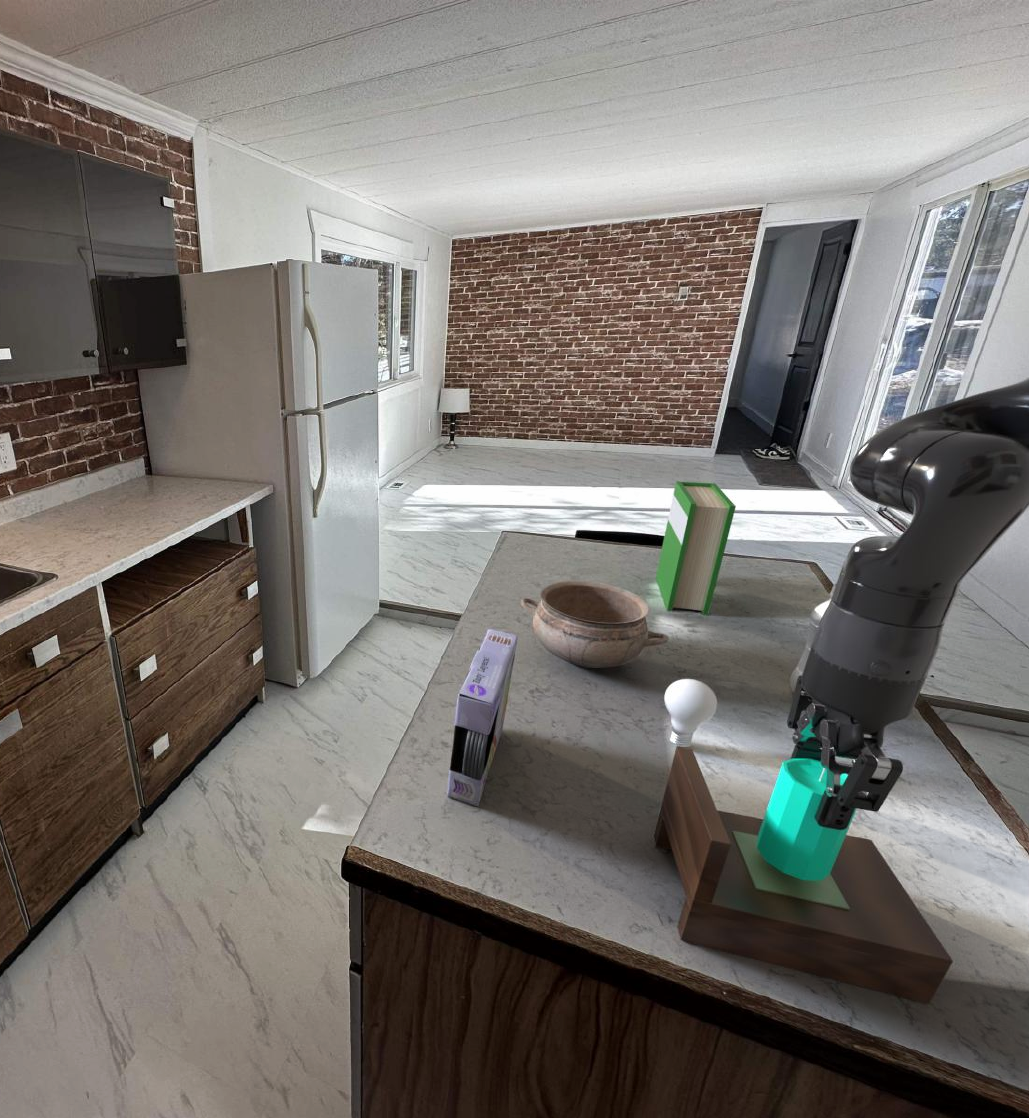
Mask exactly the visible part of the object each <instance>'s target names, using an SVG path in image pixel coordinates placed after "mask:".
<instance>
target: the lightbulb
mask: <svg viewBox="0 0 1029 1118" xmlns="http://www.w3.org/2000/svg"><path fill="white" fill-rule="evenodd" d="M663 700H664V705H665V708H666V710H667V711H668V713H669V715H670V720H671V721H670V723H671V730H670V731H671V732H670V734H669V739H668V740H669V741H670V743H672V744H674V745H676V747H683V748H688V747H690V746H691V744H692V740H693V736H694V734H695V732H697V730H698V728H699V727H700V726H701V725H703V724H705V723H706V722H708V721H709V720H711V719H713V717H714V716H715V714H716V712H717V709H718V699H717V696H716V693H715V692H714V691H713V689H712V688H711V687H710V686H708V685H707V684H706V683H704V682H703V681H700V680H698V679H694V678H693V679H692V678H681V679H677V680H675V681H673V682H672V683H671V684H670V685H668V687H667V688H666V690H665V692H664V697H663Z"/></svg>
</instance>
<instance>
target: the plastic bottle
mask: <svg viewBox="0 0 1029 1118" xmlns="http://www.w3.org/2000/svg"><path fill="white" fill-rule="evenodd" d="M836 584H837V583H834V584H833V586H832V589H831V591H830V592H829V594H828V596H829V597H830V598H828V599H826V600H825V601H823V602H821V603H819V604H818V605H816V606H815V607H814V608H813V609H812V611H811V612H810V616H809V625H808V626H809V627H808V635H807V639H806V644H805V647H804V651H803V653H802V655H801V657H800V658H799V659H800V660H799V661H798V663H797V665H796V667H795V668H794V670H793V671H792V673H791V675H790V681H789V687H790V688H791V691H792V692H793V693H794V691H795V687H796V683H797V679H798V676H800V675H802V674H803V671H804V668H805V665H806V662H807V659H808V656H809V653H810V650H811V647H812V644H813V641H814V638H815V635H816V632H817V629H818V626H819V623H820V620H821V618H822V616H823V614H824V612H825V610H826V609H827V607H828V605H829V603H830V601H831V599H832V596H833V593H834V590H835V587H836Z"/></svg>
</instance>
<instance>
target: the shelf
mask: <svg viewBox="0 0 1029 1118" xmlns="http://www.w3.org/2000/svg"><path fill="white" fill-rule="evenodd" d="M763 819H764V818H759V817H755V816H749V815H745V814H740V813H734V812H729V811H723V810H718V809H717V807H716V804H715V801H714V799H713V797H712V794H711V792H710V789H709V787H708V784H707V783H706V780H705V776H704V774H703V772H702V770H701V767H700V765H699V762H698V760H697V757H696V754H695V752H694V750H693V749H692V748H688V747H680V746H676V747H675V751H674V754H673V759H672V763H671V766H670V770H669V775H668V778H667V782H666V786H665V790H664V794H663V798H662V802H661V806H660V810H659V813H658V817H657V820H656V823H655V824H656V825H655V829H654V831H653V832H654V833H653V836H652V837H653V841H654V844H655V847H657V848H662V849H666V850H671V851H672V853H673V857H674V861H675V864H676V868H677V871H678V874H679V877H680V881H681V885H682V887H683V891H684V895H685V899H684V903H683V907H682V910H681V913H680V917H679V920H678V923H677V926H676V927H677V930H678V931H677V932H678V935H679V938H680V940H681V941H683V942H687V943H691V944H695V945H699V946H703V947H705V948H710V949H713V950H714V949H715V950H718V951H721V952H726V953H730V954H733V955H737V956H741V957H745V958H748V959H752V960H757V961H761V962H765V963H768V964H772V965H777V966H780V967H784V968H788V969H791V970H795V971H800V972H803V973H807V974H811V975H815V976H819V977H823V978H826V979H830V980H834V981H838V982H842V983H846V984H849V985H853V986H857V987H862V988H865V989H868V990H873V991H877V992H881V993H884V994H888V995H892V996H897V997H900V998H903V999H909V1000H912V1001H916V1002H920V1003H924V1004H928V1005H929V1004H930V1003H931V1001H932V999H933V998H934V996H935V994H936V992H937V991H938V989H939V987H940V985H941V984H942V982H943V980H944V979H945V976H946V975H947V973H948V971H949V969H950V968H951V966H952V964H953V962H954V961H953V958H952V957H951V956H950V954H949V953H948V952H947V950H946V948H945V947H944V945H943V944H942V942H941V941H940V939H939V938H938V937H937V935H936V933H935V932H934V931H933V929H932V927H931V926H930V924H929V923H928V922H927V920H926V919H925V917H924V916H923V914H922V913H921V911H920V910H919V909H918V907H917V905H916V904H915V902H914V901H913V899H912V898H911V896H910V894H909V893H908V892H907V890H906V889H905V888H904V886H903V884H902V883H901V882H900V880H899V879H898V877H897V876H896V874H895V872H894V871H893V870H892V868H891V867H890V866H889V864H888V862H887V860H886V859H885V858H884V856H883V855H882V853H881V852H880V850H879V849H878V847H877V846H876V844H875V843H874V842H873V840H872V839H869V838H864V837H858V836H854V835H848V834H846V836H845V838H844V841H843V843H842V846H841V848H840V851H839V853H838V855H837V858H836V860H835V863H834V865H833V867H832V870H831V872H830V875H829V876H827V877H826V878H824V879H823V880H821V881H809V880H801V879H799V878H796V877H793V876H791V875H788V874H785V873H783V872H781V871H780V870H779V869H777V868H776V867H774V866H773V865H771V864H770V863H769V862H767V861H766V860H765V859H764V857H763V856H762V855H761V853H760V852H759V851H758V849H757V837H758V834H759V831H760V828H761V825H762V822H763Z"/></svg>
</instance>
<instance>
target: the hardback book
mask: <svg viewBox="0 0 1029 1118" xmlns="http://www.w3.org/2000/svg"><path fill="white" fill-rule="evenodd" d="M735 511H736V505H735V504H734V502H733V501H731V498H729V497H728V496H727V495H726V493H725V492H724V491H723V490H722V489H721V487H719V486H718V485H717V483H715V482H695V481H678V480H677V481H675V485H674V489H673V494H672V498H671V504H670V508H669V513H668V518H667V523H666V527H665V532H664V536H663V541H662V546H661V551H660V555H659V560H658V564H657V569H656V574H655V581H656V584H657V586H658V588H659V589H658V590H659V593H660V596H661V598H662V600H663V604H664V606H665V609H666V611H667V612H668V611H669V612H672V611H673V609H674V608H676V609H683V610H684V609H685V610H693V611H700V612H701V614H702V615H703V614H704V615H703V616H709V613H710V609H711V605H712V601H713V597H714V592H715V590H716V586H717V581H718V578H719V574H720V570H721V567H722V563H723V562H722V561H723V559H724V555H725V550H726V547H727V542H728V539H729V535H730V532H731V526H732V523H733V520H734V519H733V518H734V516H735Z"/></svg>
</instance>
